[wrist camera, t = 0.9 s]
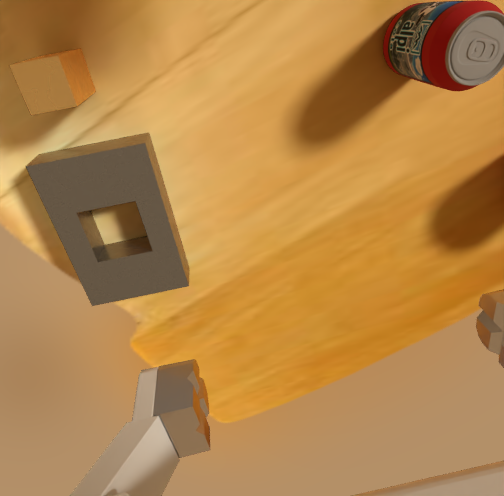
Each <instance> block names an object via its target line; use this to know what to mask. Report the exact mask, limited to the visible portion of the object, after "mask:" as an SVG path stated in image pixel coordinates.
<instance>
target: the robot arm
mask: <svg viewBox="0 0 504 496" xmlns="http://www.w3.org/2000/svg"><path fill="white" fill-rule="evenodd" d="M479 306H480V307H481V308H482V309H483V311H482V312H481V313H480V315H479V316H478V317H477V322H476V328H477V332H478V336H479V338H480V340H481V341H482V343H483V344H484V346H485V347H486V348H487V349H488V350H489V351H492V352H494V353H496V354H498V355H499V363H500V364H501V365H502V366H503V368H504V289H503V290H499V291H495V292H490V293H486V294H483V295H482V296H481V298H480V301H479ZM208 414H209V403H208V396H207V390H206V386H205V383H204V380H203V379H202V378H200V377H199V367H198V364H197V362H196V360H194V359H193V360H188V361H183V362H178V363H173V364H168V365H163V366H159V367H155V368H150V369H145V370H141V372H140V374H139V378H138V385H137V391H136V398H135V404H134V411H133V417H132V422H128V423H126V424H125V425H124V427H123V428H122V429H121V430H120V432H119V433H118V434H117V436H116V437H115V438H114V439H113V441H112V442H111V443H110V445H109V446H108V447H107V449H106V450H105V451H104V453H103V454H102V455H101V456H100V457H99V459H98V460H97V461H96V463H95V464H94V465H93V466H92V468H91V469H90V470H89V472H88V473H87V474H86V475H85V477H84V478H83V479H82V481H81V482H80V483H79V484H78V486H77V487H76V488H75V489H74V491H73V492H72V493H71V495H70V496H162V494H163V492H164V490H165V488H166V486H167V484H168V482H169V480H170V478H171V476H172V474H173V472H174V470H175V468H176V466H177V464H178V462H179V458H182V457H185V456H189V455H193V454H197V453H201V452H205V451H209V450H210V427H209V425H208V422H207V419H206V417H207V416H208ZM352 496H504V461H500V462H496V463H491V464H487V465H483V466H478V467H474V468H470V469H466V470H461V471H456V472H452V473H448V474H443V475H439V476H435V477H430V478H426V479H422V480H417V481H413V482H409V483H404V484H400V485H396V486H391V487H387V488H383V489H378V490H375V491H370V492H366V493H361V494H357V495H352Z"/></svg>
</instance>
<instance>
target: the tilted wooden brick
mask: <svg viewBox="0 0 504 496" xmlns="http://www.w3.org/2000/svg"><path fill="white" fill-rule="evenodd" d="M9 67H10V69H11V71H12V73H13V76H14V78H15V80H16V82H17V85H18V87H19V89H20V91H21V94H22V96H23V98H24V101H25V103H26V105H27V107H28V110H29V112H30V114H31V115H36V114H41V113H46V112H51V111H56V110H61V109H66V108H71V107H77V106H78V105H80V104H81V103H82V102H83V101H85V100H86V99H87V98H88V97H90V96H91V95H92V94H93V93H95V92H96V90H95V88H94V85H93V82H92V79H91V76H90V73H89V70H88V67H87V65H86V62H85V59H84V56H83V53H82V50H81V48H79V49H74V50H69V51H64V52H59V53H54V54H48V55H43V56H39V57H35V58H32V59H28V60H25V61H21V62H18V63H14V64H11V65H9Z"/></svg>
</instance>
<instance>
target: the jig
mask: <svg viewBox="0 0 504 496" xmlns="http://www.w3.org/2000/svg"><path fill="white" fill-rule="evenodd" d="M26 168H27V170H28V172H29V175H30V177H31V179H32V181H33V183H34V185H35V187H36V189H37V191H38V193H39V196H40V198H41V200H42V202H43V204H44V206H45V208H46V210H47V212H48V214H49V216H50V219H51V221H52V223H53V225H54V227H55V229H56V231H57V233H58V235H59V237H60V239H61V242H62V244H63V246H64V248H65V250H66V252H67V254H68V256H69V258H70V260H71V262H72V265H73V267H74V269H75V271H76V273H77V275H78V277H79V279H80V281H81V283H82V286H83V288H84V290H85V292H86V294H87V296H88V298H89V300H90V302H91V304H92V306H94V305H99V304H104V303H109V302H114V301H119V300H124V299H129V298H133V297H138V296H143V295H148V294H153V293H158V292H163V291H167V290H172V289H177V288H182V287H187V286H189V266H188V262H187V259H186V255H185V252H184V249H183V245H182V242H181V239H180V235H179V232H178V229H177V225H176V222H175V218H174V215H173V212H172V208H171V205H170V202H169V198H168V195H167V191H166V188H165V185H164V181H163V178H162V175H161V171H160V168H159V165H158V161H157V158H156V154H155V151H154V148H153V144H152V141H151V138H150V134H149V133H144V134H139V135H134V136H129V137H124V138H119V139H114V140H109V141H104V142H99V143H94V144H89V145H84V146H79V147H74V148H68V149H63V150H58V151H53V152H48V153H43V154H39V155H38V156H37V157H36V158H35V159H33V160H32V161H31V162H30V163H29V164H28V165H27V166H26ZM133 201H136V204H137V207H138V210H139V213H140V216H141V218H142V221H143V224H144V227H145V230H146V233H147V236H146V237H141V238H137V239H132V240H127V241H122V242H117V243H112V244H107V245H104V242H103V240H102V238H101V235H100V233H99V230H98V228H97V226H96V223H95V221H94V218H93V216H92V213H91V211H90V210H93V209H98V208H103V207H108V206H113V205H118V204H123V203H128V202H133Z"/></svg>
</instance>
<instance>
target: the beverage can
mask: <svg viewBox="0 0 504 496" xmlns="http://www.w3.org/2000/svg"><path fill="white" fill-rule="evenodd" d="M383 51H384V57H385V60H386V62H387V64H388V66H389V67H390V68H391V69H392V70H393V71H394V72H395V73H397V74H399V75H402V76H405V77H408V78H411V79H414V80H417V81H420V82H423V83H427V84H430V85H433V86H436V87H440V88H443V89H447V90H451V91H464V90H468V89H471V88H473V87H476V86H477V85H479V84H482V83H484V82H486V81H488V80H490V79H491V78H493V77H494V76H495V75H496V74H497V73H498V72H499V71H500V70H501V69H502V68H503V66H504V14H503V12H502V11H501V10H500V9H499V8H498V7H497V6H496V5H494V4H492V3H490V2H487V1H447V2H429V3H417V4H413V5H410V6H408V7H406V8H405V9H403V10H402V11H401V12H399V13H398V14H397V15H396V16H395V18H394V19H393V20H392V22H391V23H390V25H389V27H388V29H387V31H386V34H385V38H384V44H383Z"/></svg>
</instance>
